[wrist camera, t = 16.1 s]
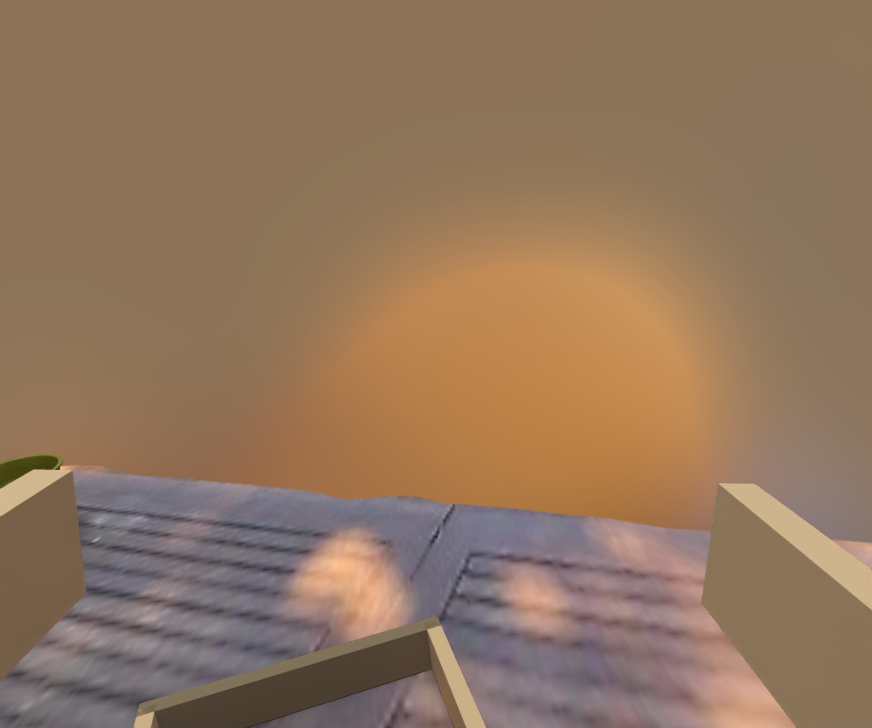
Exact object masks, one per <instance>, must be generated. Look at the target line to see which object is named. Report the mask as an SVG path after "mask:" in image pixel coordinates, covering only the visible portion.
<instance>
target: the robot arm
mask: <svg viewBox="0 0 872 728" xmlns="http://www.w3.org/2000/svg"><path fill="white" fill-rule="evenodd" d="M85 594H86V587H85V578H84V570H83V561H82V552H81V543H80V534H79V525H78V516H77V507H76V498H75V489H74V480H73V471H72V470H32V471H30V472H29V473H27V474H25V475H23V476H22V477H20V478H18V479H16V480H15V481H13V482H11V483H9V484H8V485H6V486H4V487H3V488H1V489H0V681H1V680H2V679H3V678H4V677H5V676H6V675H7V674H8V673H9V672H10V671H11V669H12V668H13V667H14V666H15V665H16V664H17V663H18V662H19V661H20V660H21V659H22V658H23V657H24V656H25V655H26V654H27V653H28V652H29V651H30V650H31V649H32V648H33V647H34V646H35V645H36V644H37V643H38V642H39V641H40V640H41V639H42V638H43V637H44V636H45V635H46V634H47V633H48V632H49V630H50V629H51V628H52V627H53V626H54V625H55V624H56V623H57V622H58V621H59V620H60V619H61V618H62V617H63V616H64V615H65V614H66V613H67V612H68V611H69V610H70V609H71V608H72V607H73V606H74V605H75V604H76V603H77V602H78V601H79V600H80V599H81V598H82V597H83V596H84V595H85ZM701 603H702V604H703V605H704V607H705V608H706V609H707V611H708V612H709V613H710V615H711V616H712V617H713V618H714V620H715V621H716V622H717V624H718V625H719V626H720V628H721V629H722V630H723V632H724V633H725V634H726V636H727V637H728V638H729V639H730V641H731V642H732V643H733V645H734V646H735V647H736V649H737V650H738V651H739V653H740V654H741V655H742V656H743V658H744V659H745V660H746V662H747V663H748V664H749V666H750V667H751V668H752V670H753V671H754V672H755V674H756V675H757V676H758V677H759V679H760V680H761V681H762V683H763V684H764V685H765V687H766V688H767V689H768V691H769V692H770V693H771V694H772V696H773V697H774V698H775V700H776V701H777V702H778V704H779V705H780V706H781V708H782V709H783V710H784V712H785V713H786V714H787V715H788V717H789V718H790V719H791V721H792V722H793V723H794V725H795V726H796V727H797V728H872V570H871V569H870V568H868V567H867V566H866V565H864V564H863V563H862V562H860V561H859V560H857V559H856V558H855V557H853V556H852V555H851V554H849V553H848V552H847V551H845V550H844V549H843V548H841V547H840V546H838V545H837V544H836V543H834V542H833V541H832V540H830V539H829V538H827V537H826V536H825V535H823V534H822V533H821V532H819V531H818V530H817V529H815V528H814V527H813V526H811V525H810V524H808V523H807V522H806V521H804V520H803V519H802V518H800V517H799V516H798V515H796V514H795V513H794V512H792V511H791V510H789V509H788V508H787V507H785V506H784V505H782V504H781V503H780V502H778V501H777V500H776V499H774V498H773V497H772V496H770V495H769V494H767V493H766V492H765V491H764V490H762V489H761V488H759V487H758V486H757V485H755V484H723V483H722V484H721V483H720V484H718V488H717V496H716V503H715V510H714V518H713V524H712V531H711V538H710V545H709V552H708V559H707V566H706V573H705V581H704V588H703V595H702V602H701Z"/></svg>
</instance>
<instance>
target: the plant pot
mask: <svg viewBox="0 0 872 728" xmlns="http://www.w3.org/2000/svg"><path fill="white" fill-rule="evenodd" d="M62 462H63V458H62V457H61V456H59V455H57V454H50V453H49V454H48V453H46V454H35V455H27V456H23V457H18V458H14V459H10V460H7V461H3V462H0V489H1V488H3V487H4V486H6V485H8V484H9V483H11V482H13V481H15V480H16V479H18V478H20V477H22V476H23V475H25V474H27V473H29V472H30V471H32V470H60V466H61V465H62Z"/></svg>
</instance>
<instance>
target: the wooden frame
mask: <svg viewBox="0 0 872 728" xmlns="http://www.w3.org/2000/svg"><path fill="white" fill-rule="evenodd" d="M429 669H432V670H433V672H434V675H435V678H436V680H437V683H438V686H439V688H440V691H441V694H442V696H443V699H444V702H445V704H446V707H447V710H448V712H449V715H450V718H451V720H452V723H453V725H454V728H486V727H485V725H484V723H483V720H482V718H481V716H480V713H479V711H478V709H477V707H476V704H475V702H474V700H473V697H472V695H471V693H470V691H469V688H468V686H467V684H466V682H465V679H464V677H463V675H462V672H461V670H460V668H459V666H458V663H457V661H456V659H455V656H454V654H453V652H452V650H451V647H450V645H449V643H448V641H447V638H446V636H445V634H444V631H443V629H442V627H441V625H440V622H439V620H438V618H437V616H435V617H432V618H429V619H425V620H422V621H418V622H415V623H412V624H408V625H405V626H402V627H398V628H395V629H391V630H388V631H385V632H381V633H378V634H374V635H371V636H368V637H364V638H361V639H358V640H354V641H351V642H347V643H344V644H341V645H337V646H334V647H330V648H327V649H324V650H320V651H317V652H313V653H310V654H307V655H303V656H300V657H297V658H293V659H290V660H286V661H283V662H280V663H276V664H273V665H269V666H266V667H263V668H259V669H256V670H253V671H249V672H246V673H242V674H239V675H236V676H232V677H229V678H225V679H222V680H219V681H215V682H212V683H209V684H205V685H202V686H198V687H195V688H192V689H188V690H185V691H181V692H178V693H175V694H171V695H168V696H165V697H161V698H158V699H154V700H151V701H148V702H144V703H141V704H140V706H139V710H138V713H137V717H136V721H135V725H134V728H247V727H251V726H254V725H257V724H260V723H263V722H266V721H269V720H273V719H276V718H279V717H282V716H285V715H288V714H291V713H294V712H298V711H301V710H304V709H307V708H310V707H313V706H316V705H320V704H323V703H326V702H329V701H332V700H335V699H338V698H342V697H345V696H348V695H351V694H354V693H357V692H360V691H364V690H367V689H370V688H373V687H376V686H379V685H382V684H385V683H389V682H392V681H395V680H398V679H401V678H404V677H407V676H411V675H414V674H417V673H420V672H423V671H426V670H429Z"/></svg>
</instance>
